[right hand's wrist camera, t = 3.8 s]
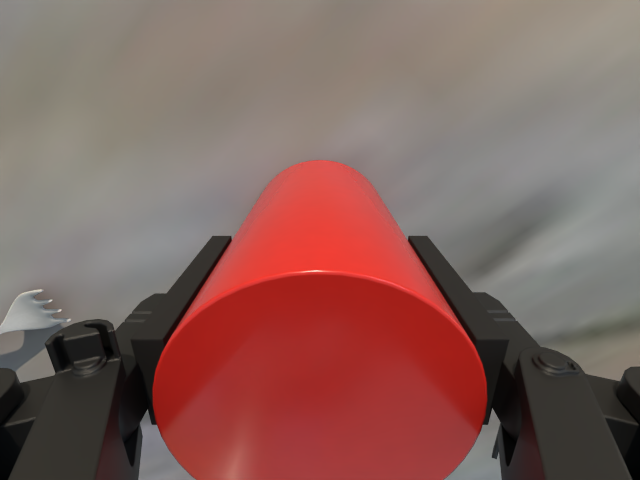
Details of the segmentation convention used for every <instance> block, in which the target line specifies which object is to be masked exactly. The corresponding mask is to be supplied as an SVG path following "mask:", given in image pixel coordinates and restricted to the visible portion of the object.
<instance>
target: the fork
mask: <svg viewBox="0 0 640 480" xmlns="http://www.w3.org/2000/svg"><path fill="white" fill-rule="evenodd" d="M40 292H43V290H33V291H29V292H25V293H22V294H20V295H19V296H18V297H17V298H16V299H15V300H14V302H13V304H12V305H11V307H10V309H9V311H8V314H7V316H6V318H5V319H4V321H3V323H2V324H1V326H0V334H2V333H5V332H10V331H19V330H34V329H44V328H49V327H53V326H55V325H57V324H60V323H63V322H70V321H71V319H66V318H53V317H52V314H54V313H58V312H61V311H62V310H61V309H45V308H44V307H43V305H45V304H47V303H49V302H52V301H53V300H36V299H35V298H34V296H35V295H37V294H39V293H40Z"/></svg>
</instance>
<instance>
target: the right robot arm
mask: <svg viewBox="0 0 640 480" xmlns="http://www.w3.org/2000/svg"><path fill="white" fill-rule="evenodd" d="M231 241H232V239H231V236H212V237H211V239H210V240H209V241H208V242H207V244H206V245H205V246H204V247H203V249H202V250H201V251H200V252H199V254H198V255H197V256H196V257H195V259H194V260H193V261H192V262H191V264H190V265H189V266H188V267H187V269H186V270H185V271H184V272H183V274H182V275H181V276H180V277H179V279H178V280H177V281H176V282H175V284H174V285H173V286H172V287H171V289H170V290H169V291H168V292H167V294H153V295H152V296H150V297H148V298H147V299H145V300H144V301H142V302H141V303H140V304H139V305H138V306H137V307H136V308H135V309H134V310H133V312H132V314H130V315H129V316H128V317H127V318H126V319H125V322H123V323H122V324H121V325H120V326H119V327H118V328H117V329H116V331H114V327H113V324H112V323H110V322H109V321H107V320H101V319H95V320H86V321H82V322H78V323H75V324H72V325H70V326H68V327H65V328H63V329H61V330H59V331H58V332H57V333H55V334H54V335H52V336H51V337H50V338H49V339H48V340H47V341H46V343H45V346H46V348H47V351H48V354H49V356H50V359H51V362H52V364H53V367H54V370H55V375H54V376H50V377H46V378H41V379H37V380H32V381H27V382H23V383H20V382H19V380H18V377H17V375H16V372H14V371H13V370H11V369H8V368H0V480H138V477H139V467H140V457H141V447H142V437H143V436H142V430H141V426H140V422H141V420H142V418H143V416H144V414H145V413H146V411H147V409H148V411H149V415H150V419H151V423H152V425H157V423H156V419H155V414H154V409H153V382H154V376H155V370H156V367H157V364H158V361H159V359H160V356H161V353H162V351H163V349H164V348H165V346H166V344H167V342H168V341H169V339H170V337H171V336H172V334H173V332H174V331H175V329H176V328H177V326H178V325H179V323H180V321H181V320H182V318H183V317H184V315H185V314H186V312H187V310H188V309H189V307H190V306H191V304H192V303H193V301H194V299H195V298H196V296H197V295H198V293H199V292H200V290H201V288H202V287H203V285H204V284H205V282H206V281H207V279H208V277H209V276H210V274H211V273H212V271H213V270H214V268H215V266H216V265H217V263H218V262H219V260H220V259H221V257H222V255H223V254H224V252H225V251H226V249H227V248H228V246H229V244H230V243H231ZM408 242H409V243H410V245H411V247H412V248H413V250H414V251H415V253H416V254H417V256H418V258H419V259H420V261H421V262H422V264H423V265H424V267H425V269H426V270H427V272H428V273H429V275H430V276H431V278H432V280H433V281H434V283H435V284H436V286H437V287H438V289H439V291H440V292H441V294H442V295H443V297H444V298H445V300H446V302H447V303H448V305H449V306H450V308H451V310H452V311H453V313H454V314H455V316H456V317H457V319H458V321H459V322H460V324H461V325H462V327H463V328H464V330H465V332H466V333H467V335H468V336H469V338H470V339H471V341H472V343H473V344H474V346H475V348H476V350H477V352H478V355H479V357H480V359H481V361H482V364H483V368H484V373H485V377H486V383H487V406H486V414H485V418H484V422H483V425H488V422H489V418H490V414H491V411H492V408H493V409H494V411H495V413H496V415H497V417H498V418H499V420H500V422H501V423H500V426H499V430H498V434H497V437H496V441H495V445H494V448H493V453H492V458H495V459H497V456H498V452H499V456H500V466H501V475H502V480H640V367H630V368H628V369H627V370H625V372H624V374H623V376H622V379H621V381H615V380H611V379H606V378H601V377H597V376H592V375H588V374H585V373H584V371H583V370H582V369H581V367H580V366H579V365H578V364H577V363H576V362H574V361H573V360H572V359H571V358H569V357H567V356H565V355H564V354H562V353H560V352H558V351H555V350H551V349H548V348H544V347H540V346H539V345H538V344H537V343H536V341H535V340H534V339H533V338H532V337H531V336H530V335H529V334H528V333H527V331H526V330H525V329H524V328H523V327H522V326H521V325H520V324H519V323H518V321H515V318H514V317H513V316H512V315H511V314H510V313H508V310H507V309H506V308H505V307H504V306H503V305H502V304H501V303H500V301H498V300H497V299H495V298H493V297H492V296H490V295H488V294H487V293H472V291H471V290H470V289H469V288H468V286H467V285H466V284H465V283H464V281H463V280H462V279H461V278H460V276H459V275H458V274H457V273H456V271H455V270H454V269H453V268H452V266H451V265H450V264H449V263H448V261H447V260H446V259H445V258H444V256H443V255H442V254H441V253H440V252H439V250H438V249H437V248H436V247H435V245H434V244H433V243H432V242H431V240H430V239H429V238H428V237H427V236H409V237H408Z"/></svg>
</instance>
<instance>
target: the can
mask: <svg viewBox="0 0 640 480" xmlns="http://www.w3.org/2000/svg"><path fill="white" fill-rule="evenodd" d="M486 406H487V383H486V377H485V373H484V368H483V364H482V361H481V359H480V357H479V355H478V352H477V350H476V348H475V346H474V344H473V343H472V341H471V339H470V338H469V336H468V335H467V333H466V332H465V330H464V328H463V327H462V325H461V324H460V322H459V321H458V319H457V317H456V316H455V314H454V313H453V311H452V310H451V308H450V306H449V305H448V303H447V302H446V300H445V298H444V297H443V295H442V294H441V292H440V291H439V289H438V287H437V286H436V284H435V283H434V281H433V280H432V278H431V276H430V275H429V273H428V272H427V270H426V269H425V267H424V265H423V264H422V262H421V261H420V259H419V258H418V256H417V254H416V253H415V251H414V250H413V248H412V247H411V245H410V243H409V242H408V240H407V239H406V237H405V235H404V234H403V232H402V231H401V229H400V228H399V226H398V224H397V223H396V221H395V220H394V218H393V217H392V215H391V213H390V212H389V210H388V209H387V207H386V206H385V204H384V202H383V201H382V199H381V198H380V196H379V195H378V193H377V191H376V190H375V188H374V187H373V185H372V184H371V183H370V182H369V181H368V180H367V179H366V178H365V177H364V176H363V175H362V174H360V173H359V172H357V171H356V170H354V169H353V168H350V167H348V166H346V165H344V164H341V163H337V162H333V161H325V160H315V161H307V162H303V163H299V164H296V165H294V166H291V167H289V168H288V169H286V170H284V171H282V172H281V173H280V174H278V175H277V176H276V177H275V178H274V179H273V180H272V181H271V182H270V183H269V184H268V185H267V187H266V188H265V189H264V191H263V193H262V194H261V196H260V197H259V199H258V200H257V202H256V204H255V205H254V207H253V208H252V210H251V211H250V213H249V215H248V216H247V218H246V219H245V221H244V222H243V224H242V226H241V227H240V229H239V230H238V232H237V233H236V235H235V237H234V238H233V240H232V241H231V243H230V244H229V246H228V248H227V249H226V251H225V252H224V254H223V255H222V257H221V259H220V260H219V262H218V263H217V265H216V266H215V268H214V270H213V271H212V273H211V274H210V276H209V277H208V279H207V281H206V282H205V284H204V285H203V287H202V288H201V290H200V292H199V293H198V295H197V296H196V298H195V299H194V301H193V303H192V304H191V306H190V307H189V309H188V310H187V312H186V314H185V315H184V317H183V318H182V320H181V321H180V323H179V325H178V326H177V328H176V329H175V331H174V332H173V334H172V336H171V337H170V339H169V341H168V342H167V344H166V346H165V348H164V349H163V351H162V353H161V356H160V359H159V361H158V364H157V367H156V370H155V376H154V382H153V409H154V414H155V419H156V423H157V426H158V428H159V431H160V434H161V437H162V438H163V440H164V442H165V444H166V446H167V447H168V449H169V451H170V452H171V454H172V455H173V456H174V457H175V459H176V460H177V461H178V463H179V464H180V465H181V466H182V467H183V468H184V469H185V470H186V471H187V472H188V473H189V474H190V475H191V476H192V477H193V478H195V479H196V480H444V479H445V478H446V477H447V476H449V475H450V474H451V473H452V472H453V471H454V470H455V469H456V468H457V467H458V466H459V464H460V463H461V462H462V461H463V460H464V459H465V457H466V456H467V454H468V453H469V452H470V450H471V449H472V447H473V446H474V444H475V442H476V440H477V437H478V435H479V433H480V431H481V428H482V425H483V422H484V418H485V414H486Z"/></svg>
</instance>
